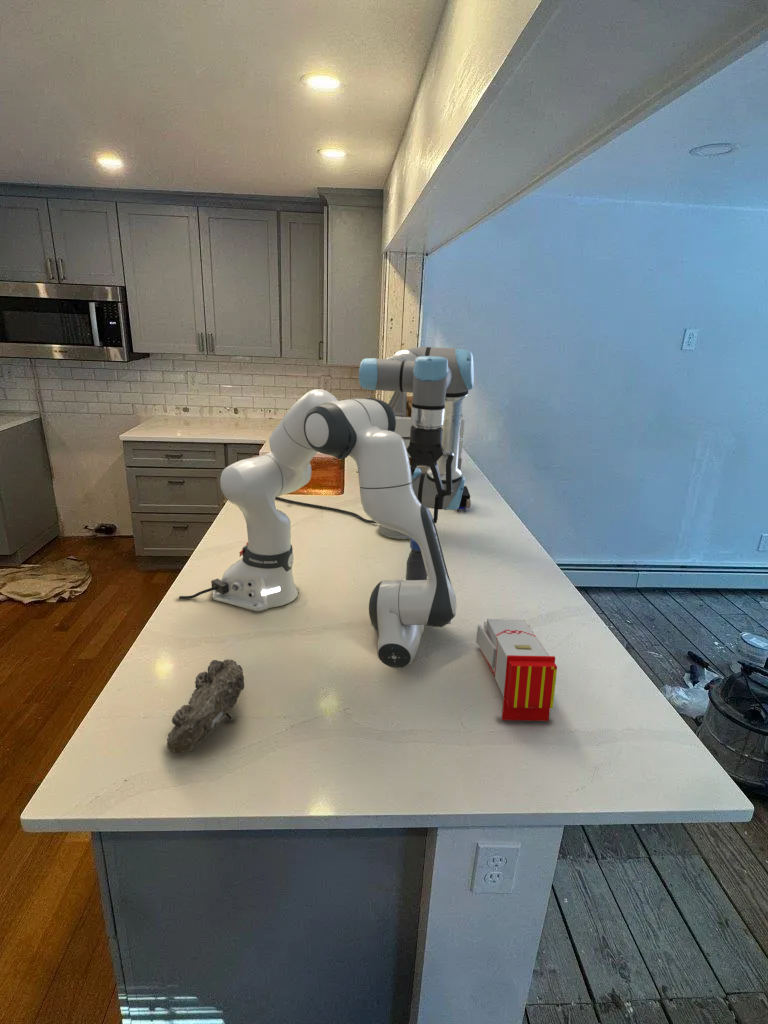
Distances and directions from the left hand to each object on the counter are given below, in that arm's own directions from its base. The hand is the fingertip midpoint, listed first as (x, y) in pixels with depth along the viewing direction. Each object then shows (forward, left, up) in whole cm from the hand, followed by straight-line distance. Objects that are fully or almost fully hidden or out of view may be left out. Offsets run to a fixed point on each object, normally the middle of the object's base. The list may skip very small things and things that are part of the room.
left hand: (415, 592), depth 146 cm
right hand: (0, -1, +20) cm, 21 cm away
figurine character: (+5, +89, -6) cm, 89 cm away
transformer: (-19, +134, -6) cm, 135 cm away
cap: (0, -1, +15) cm, 15 cm away
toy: (+24, -22, -6) cm, 33 cm away
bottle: (0, -1, -6) cm, 6 cm away
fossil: (-31, -49, -6) cm, 59 cm away
